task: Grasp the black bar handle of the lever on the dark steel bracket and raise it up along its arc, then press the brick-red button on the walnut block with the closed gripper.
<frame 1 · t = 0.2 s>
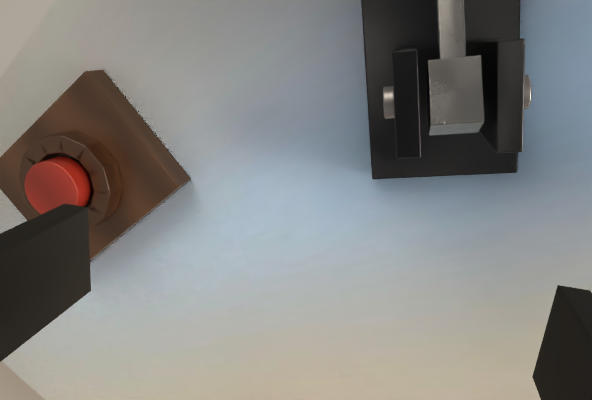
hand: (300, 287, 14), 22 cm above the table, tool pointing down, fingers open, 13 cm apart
button: (58, 187, 36), point 4 cm above the table, slide at 0.1 cm
button block: (95, 171, 40), on the table
bracket: (439, 79, 33), on the table
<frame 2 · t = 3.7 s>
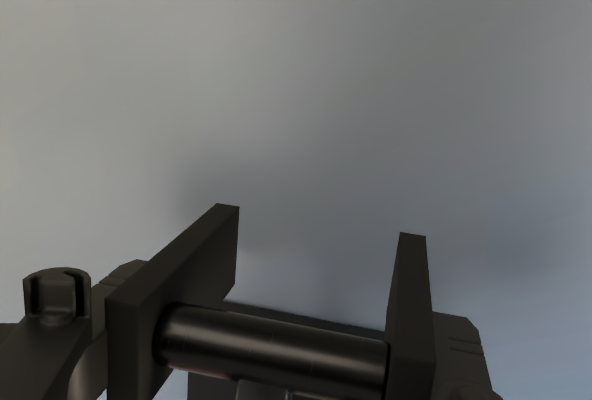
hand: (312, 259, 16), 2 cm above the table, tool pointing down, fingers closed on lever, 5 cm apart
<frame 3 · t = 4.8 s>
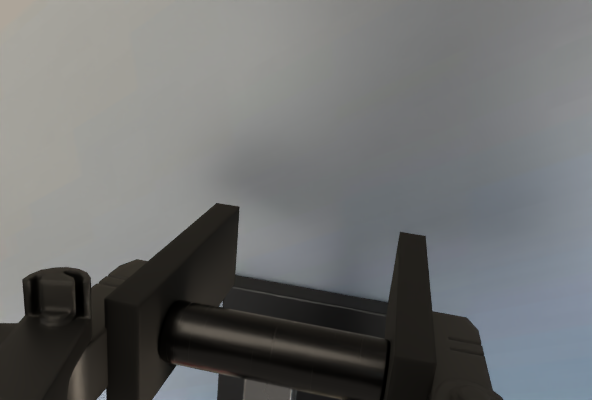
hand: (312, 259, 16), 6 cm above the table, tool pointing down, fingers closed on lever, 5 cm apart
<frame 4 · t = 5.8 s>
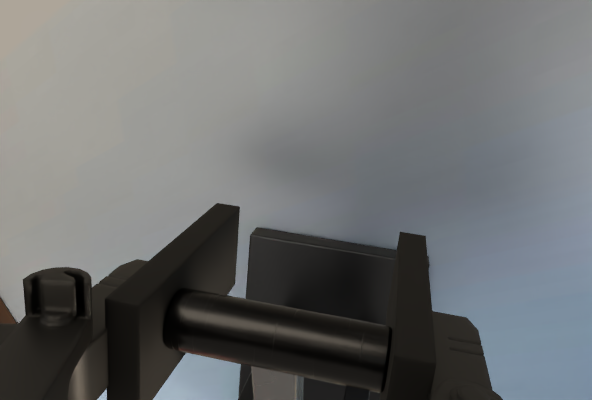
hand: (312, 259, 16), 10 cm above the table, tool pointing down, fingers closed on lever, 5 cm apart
bracket: (327, 341, 29), on the table
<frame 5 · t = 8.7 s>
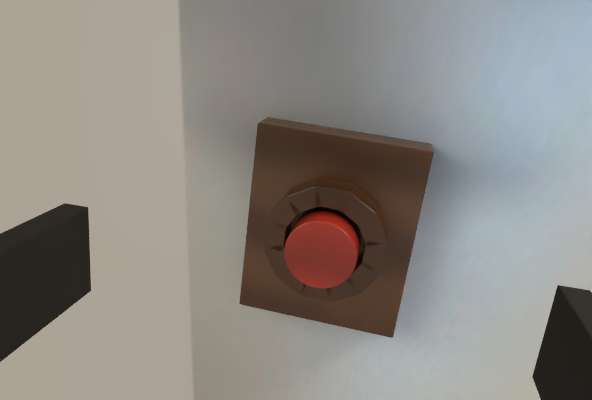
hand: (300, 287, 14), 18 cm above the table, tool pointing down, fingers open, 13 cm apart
button: (322, 249, 29), point 4 cm above the table, slide at 0.1 cm
button block: (332, 222, 33), on the table
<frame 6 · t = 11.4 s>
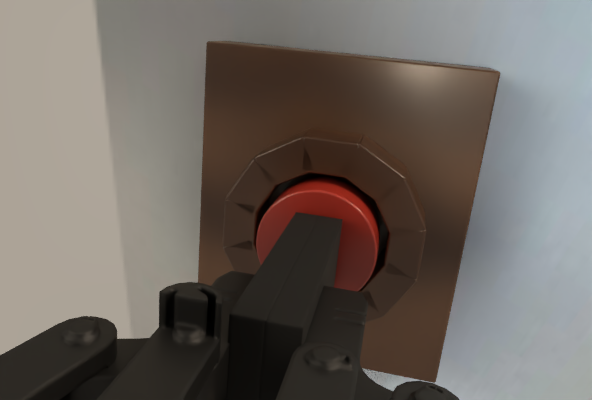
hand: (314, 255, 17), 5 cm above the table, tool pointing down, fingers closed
button: (319, 239, 18), point 4 cm above the table, slide at -0.3 cm, touching gripper
button block: (334, 204, 21), on the table
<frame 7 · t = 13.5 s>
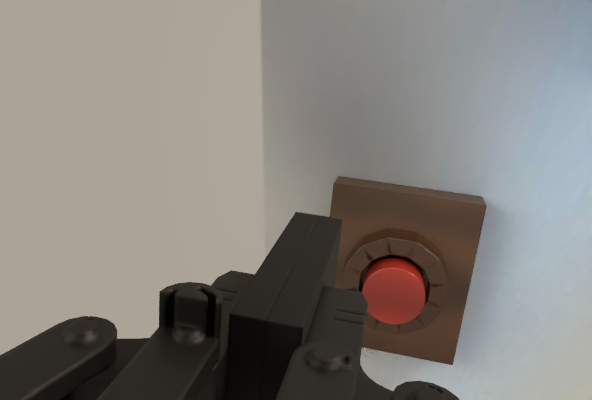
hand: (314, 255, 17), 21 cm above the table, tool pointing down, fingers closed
button: (393, 290, 34), point 4 cm above the table, slide at 0.1 cm
button block: (395, 264, 38), on the table
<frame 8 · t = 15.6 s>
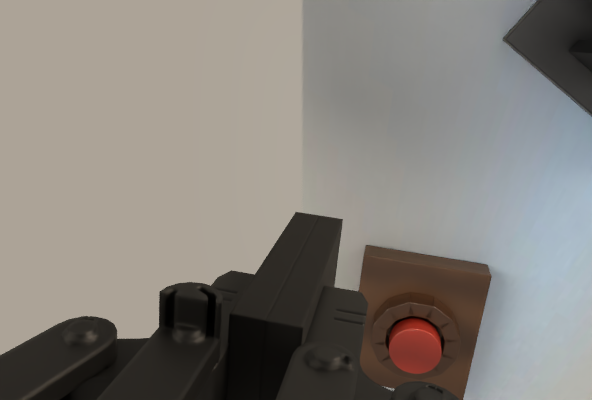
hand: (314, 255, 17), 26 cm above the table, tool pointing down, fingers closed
button: (414, 345, 41), point 4 cm above the table, slide at 0.1 cm
button block: (414, 317, 45), on the table
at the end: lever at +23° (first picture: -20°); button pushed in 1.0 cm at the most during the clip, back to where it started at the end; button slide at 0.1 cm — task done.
